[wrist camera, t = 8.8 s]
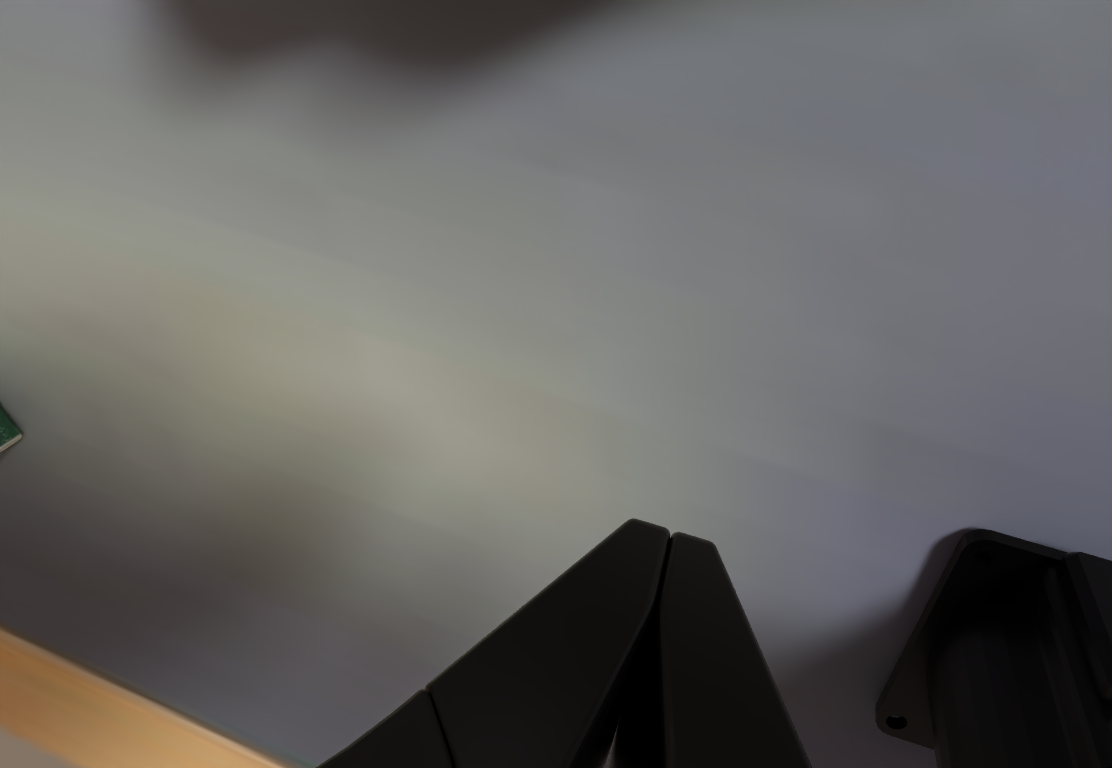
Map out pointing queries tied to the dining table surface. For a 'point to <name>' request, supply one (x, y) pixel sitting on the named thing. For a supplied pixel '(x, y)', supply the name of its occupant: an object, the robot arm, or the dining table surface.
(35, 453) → the dining table surface
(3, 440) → the crayon box
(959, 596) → the robot arm
